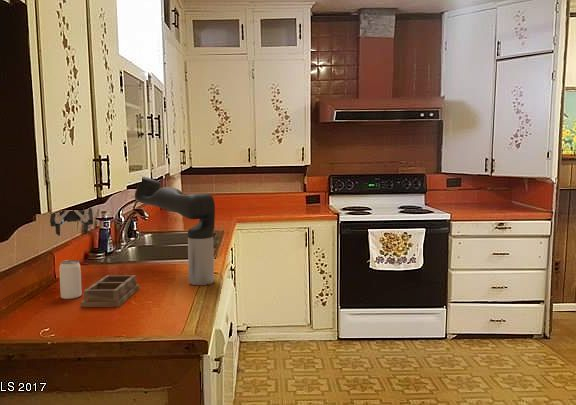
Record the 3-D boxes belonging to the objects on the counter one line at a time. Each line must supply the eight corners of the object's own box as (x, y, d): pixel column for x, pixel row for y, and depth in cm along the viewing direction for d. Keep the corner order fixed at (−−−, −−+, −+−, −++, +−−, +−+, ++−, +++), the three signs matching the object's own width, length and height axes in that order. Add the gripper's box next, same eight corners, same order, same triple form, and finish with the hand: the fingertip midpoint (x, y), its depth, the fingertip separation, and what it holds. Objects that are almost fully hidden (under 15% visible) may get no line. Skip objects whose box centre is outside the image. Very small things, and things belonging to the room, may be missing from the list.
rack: (105, 288, 172) (104, 275, 172) (139, 288, 172) (138, 274, 172) (81, 306, 151) (80, 291, 151) (119, 306, 151) (118, 291, 151)
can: (76, 299, 159) (75, 263, 158) (57, 299, 159) (55, 263, 158) (84, 293, 166) (83, 259, 165) (66, 294, 166) (64, 259, 165)
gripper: (93, 204, 186) (93, 238, 177) (52, 205, 181) (50, 241, 172) (92, 191, 181) (93, 226, 172) (50, 192, 176) (48, 228, 166)
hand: (72, 233), depth 172 cm, fingers open, 8 cm apart
